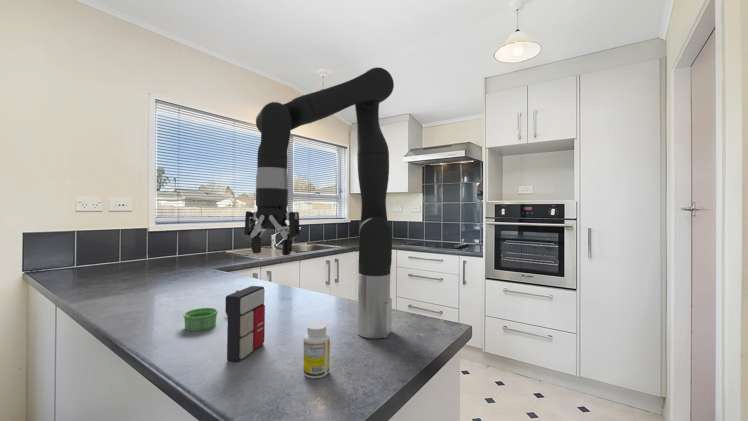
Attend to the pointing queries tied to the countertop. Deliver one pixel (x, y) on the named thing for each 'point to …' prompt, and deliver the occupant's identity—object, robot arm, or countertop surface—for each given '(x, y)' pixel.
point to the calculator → (245, 322)
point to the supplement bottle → (316, 351)
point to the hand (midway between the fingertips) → (271, 254)
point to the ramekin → (200, 319)
